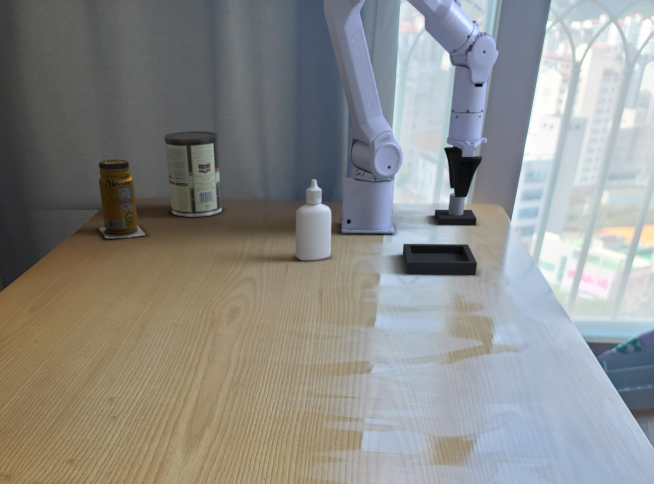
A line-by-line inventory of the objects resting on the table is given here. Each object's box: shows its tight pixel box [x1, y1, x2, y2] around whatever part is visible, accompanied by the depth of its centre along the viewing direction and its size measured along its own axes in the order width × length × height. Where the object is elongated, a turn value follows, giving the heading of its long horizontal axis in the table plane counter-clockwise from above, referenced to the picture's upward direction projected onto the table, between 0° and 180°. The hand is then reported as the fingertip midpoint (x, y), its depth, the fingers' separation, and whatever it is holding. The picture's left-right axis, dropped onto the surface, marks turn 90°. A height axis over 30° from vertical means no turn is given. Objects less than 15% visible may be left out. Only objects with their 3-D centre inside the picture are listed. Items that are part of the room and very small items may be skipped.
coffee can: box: [163, 130, 223, 218], centre depth 148 cm, size 10×10×14 cm
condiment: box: [98, 159, 146, 239], centre depth 135 cm, size 7×8×12 cm
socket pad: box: [402, 243, 478, 276], centre depth 119 cm, size 10×10×2 cm
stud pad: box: [434, 192, 478, 226], centre depth 142 cm, size 7×7×5 cm
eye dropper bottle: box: [295, 179, 332, 262], centre depth 120 cm, size 4×6×12 cm
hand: (458, 192), depth 140 cm, fingers open, 7 cm apart
